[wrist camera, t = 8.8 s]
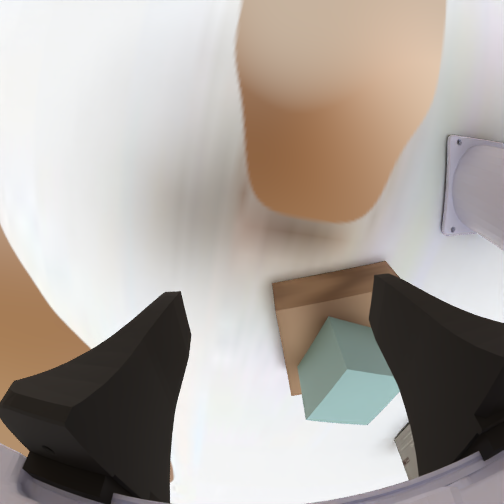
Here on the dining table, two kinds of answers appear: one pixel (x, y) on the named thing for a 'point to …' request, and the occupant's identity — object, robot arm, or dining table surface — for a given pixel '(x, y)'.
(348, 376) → the teal block
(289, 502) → the dining table surface
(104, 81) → the dining table surface
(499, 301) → the dining table surface
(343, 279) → the walnut block
